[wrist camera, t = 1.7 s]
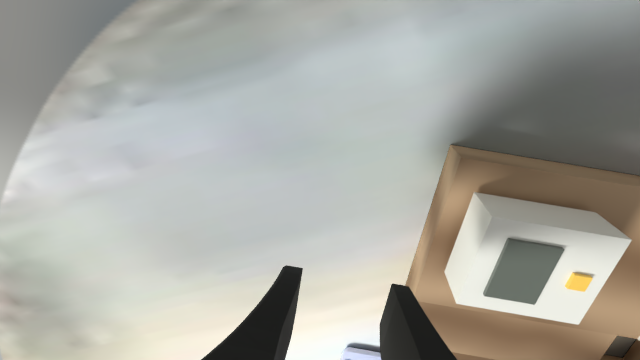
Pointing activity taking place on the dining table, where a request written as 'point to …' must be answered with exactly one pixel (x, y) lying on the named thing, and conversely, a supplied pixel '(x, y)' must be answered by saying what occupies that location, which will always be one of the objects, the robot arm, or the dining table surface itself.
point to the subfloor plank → (513, 329)
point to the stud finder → (532, 258)
